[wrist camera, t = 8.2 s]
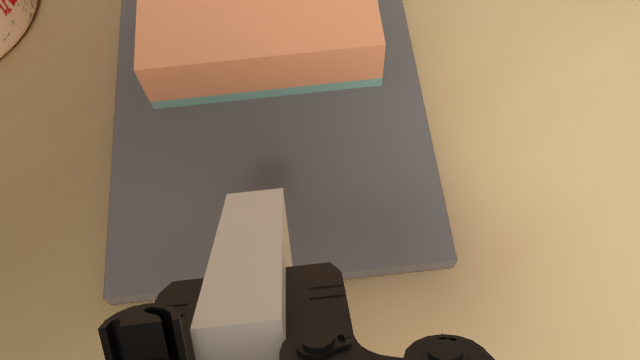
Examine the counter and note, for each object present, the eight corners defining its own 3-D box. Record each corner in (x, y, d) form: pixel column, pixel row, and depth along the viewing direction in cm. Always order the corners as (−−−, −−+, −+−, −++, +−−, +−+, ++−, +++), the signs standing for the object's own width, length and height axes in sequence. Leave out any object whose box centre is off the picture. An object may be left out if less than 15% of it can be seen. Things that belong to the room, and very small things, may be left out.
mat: (453, 267, 21) (457, 260, 20) (111, 304, 21) (103, 298, 20) (373, -116, 30) (374, -130, 29) (133, -92, 30) (128, -106, 29)
